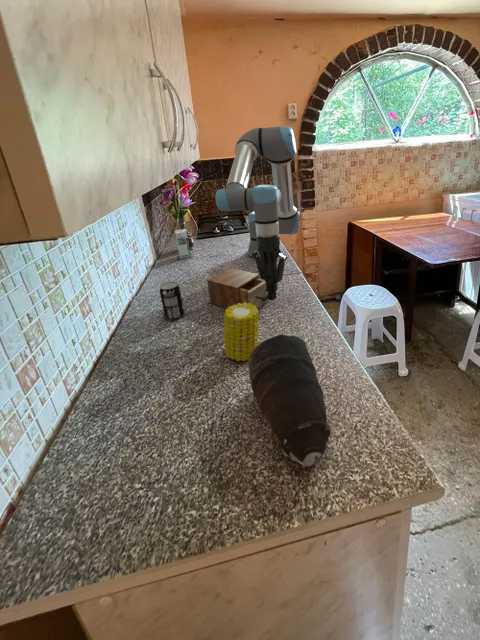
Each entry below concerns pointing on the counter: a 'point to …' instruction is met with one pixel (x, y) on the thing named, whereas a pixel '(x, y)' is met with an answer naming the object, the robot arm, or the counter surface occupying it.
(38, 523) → the counter surface
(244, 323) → the food
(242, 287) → the short wooden cylinder
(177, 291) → the beverage can
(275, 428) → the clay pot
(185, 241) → the syrup box
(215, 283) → the cabinet
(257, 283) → the drawer
